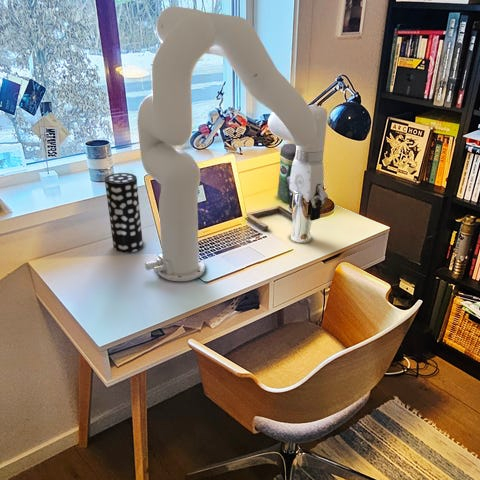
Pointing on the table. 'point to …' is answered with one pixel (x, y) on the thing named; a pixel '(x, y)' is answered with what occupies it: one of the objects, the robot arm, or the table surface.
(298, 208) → the beer glass
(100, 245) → the table surface
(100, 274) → the table surface
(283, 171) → the coffee jar
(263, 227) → the walnut bay
